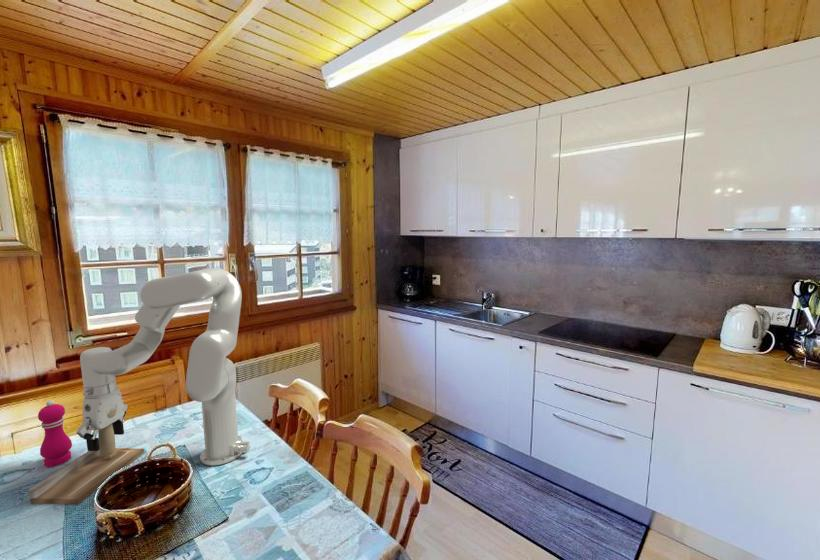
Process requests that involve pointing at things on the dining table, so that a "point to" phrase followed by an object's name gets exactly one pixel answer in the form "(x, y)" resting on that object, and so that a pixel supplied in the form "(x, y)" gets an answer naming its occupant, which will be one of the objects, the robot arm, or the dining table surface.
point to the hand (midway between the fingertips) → (106, 441)
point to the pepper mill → (54, 435)
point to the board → (81, 477)
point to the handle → (107, 440)
